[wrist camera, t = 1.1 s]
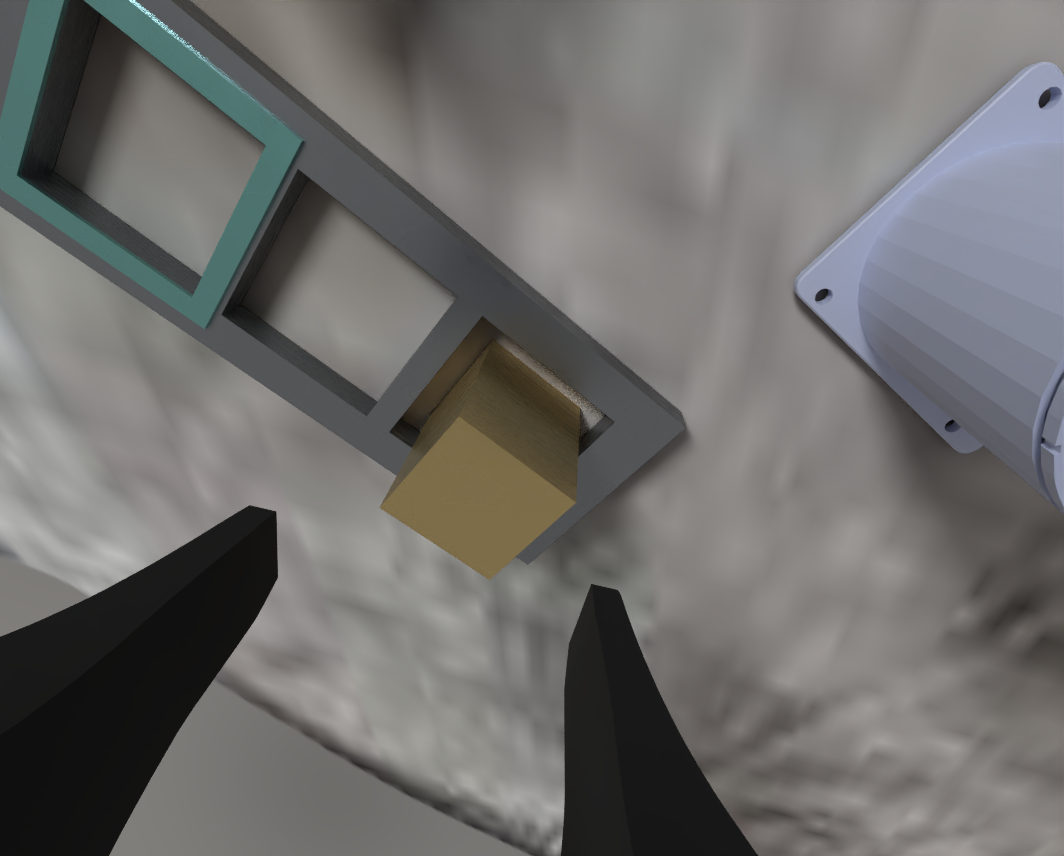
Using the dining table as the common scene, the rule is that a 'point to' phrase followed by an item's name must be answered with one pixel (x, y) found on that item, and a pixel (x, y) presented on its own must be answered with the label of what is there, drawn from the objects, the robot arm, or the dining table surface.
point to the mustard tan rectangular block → (490, 464)
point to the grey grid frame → (283, 169)
